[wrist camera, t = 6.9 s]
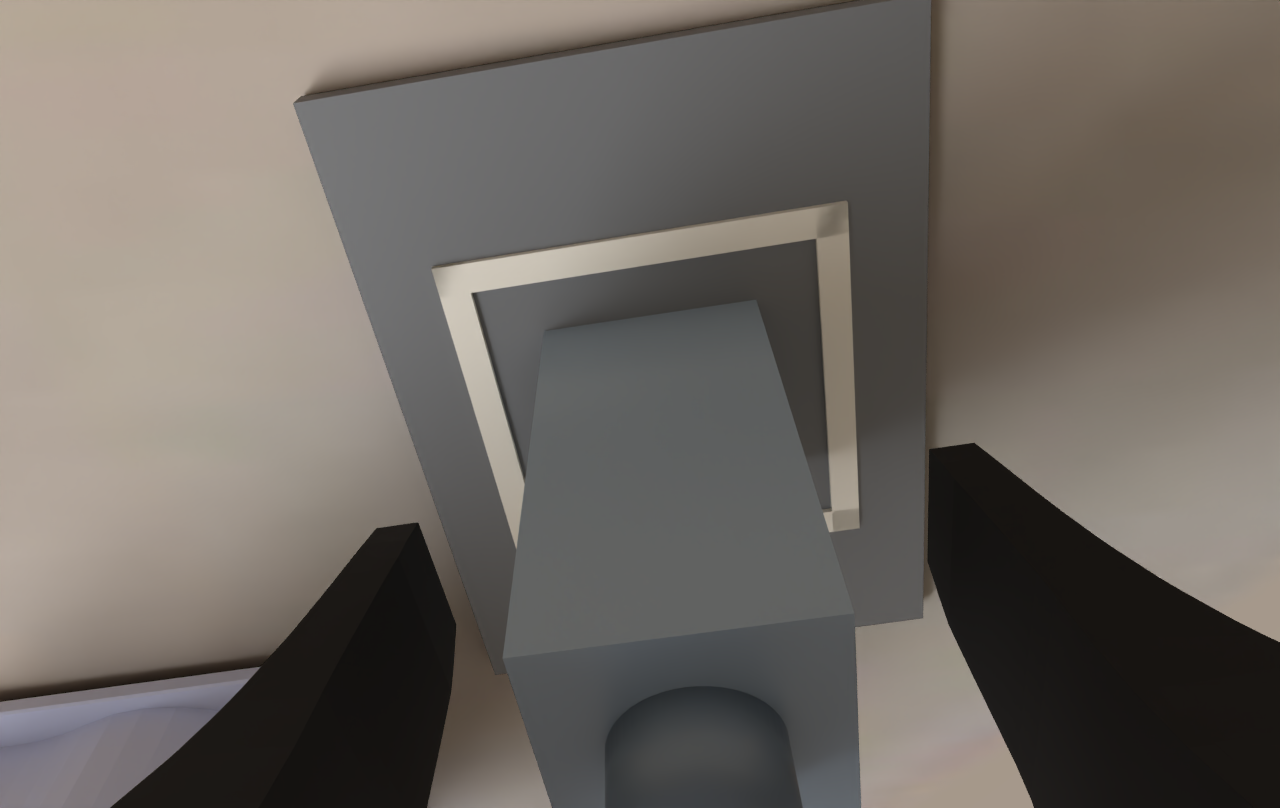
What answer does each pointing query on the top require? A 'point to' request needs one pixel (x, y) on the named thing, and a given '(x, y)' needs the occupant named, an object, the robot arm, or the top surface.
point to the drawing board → (654, 253)
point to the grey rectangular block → (678, 577)
